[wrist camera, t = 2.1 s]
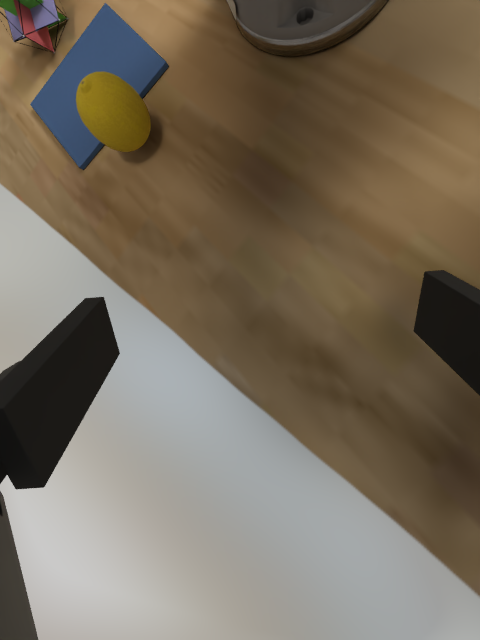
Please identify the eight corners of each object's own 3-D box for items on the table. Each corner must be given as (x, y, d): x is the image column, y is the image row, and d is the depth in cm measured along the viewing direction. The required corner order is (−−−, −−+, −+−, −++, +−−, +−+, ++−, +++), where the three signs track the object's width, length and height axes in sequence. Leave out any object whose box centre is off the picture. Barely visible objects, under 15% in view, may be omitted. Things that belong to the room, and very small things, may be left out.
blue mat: (109, 7, 37) (105, 2, 36) (169, 66, 33) (166, 61, 33) (34, 107, 39) (29, 104, 39) (83, 170, 36) (79, 167, 36)
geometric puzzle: (62, 50, 35) (3, -57, 30) (15, 71, 38) (-48, -27, 32) (91, 37, 40) (45, -59, 34) (48, 55, 42) (-2, -32, 37)
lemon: (175, 128, 33) (122, 64, 25) (145, 176, 34) (84, 128, 26) (139, 105, 34) (79, 38, 27) (111, 151, 35) (45, 99, 28)
